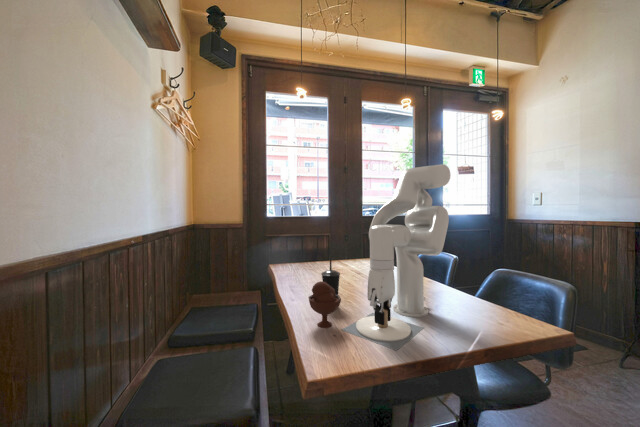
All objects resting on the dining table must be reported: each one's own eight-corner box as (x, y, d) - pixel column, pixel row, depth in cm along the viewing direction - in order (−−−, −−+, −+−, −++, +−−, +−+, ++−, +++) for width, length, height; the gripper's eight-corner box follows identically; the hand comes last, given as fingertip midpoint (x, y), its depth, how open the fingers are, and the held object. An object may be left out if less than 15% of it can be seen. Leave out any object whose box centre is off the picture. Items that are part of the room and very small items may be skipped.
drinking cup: (322, 303, 108) (322, 255, 108) (340, 304, 107) (340, 256, 107) (320, 310, 100) (320, 259, 101) (340, 310, 100) (339, 259, 100)
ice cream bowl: (339, 334, 80) (338, 286, 80) (304, 331, 82) (304, 284, 82) (343, 320, 90) (342, 277, 90) (312, 318, 92) (311, 276, 92)
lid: (373, 314, 94) (373, 298, 94) (419, 327, 83) (419, 309, 83) (345, 329, 82) (345, 311, 82) (395, 347, 70) (395, 326, 70)
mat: (372, 314, 96) (372, 312, 96) (424, 329, 83) (424, 327, 83) (341, 331, 82) (341, 329, 82) (396, 352, 69) (396, 350, 69)
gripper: (384, 259, 91) (384, 311, 91) (357, 266, 79) (358, 326, 79) (404, 262, 86) (405, 317, 86) (379, 270, 74) (380, 334, 74)
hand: (382, 321), depth 82 cm, fingers closed on lid, 3 cm apart
